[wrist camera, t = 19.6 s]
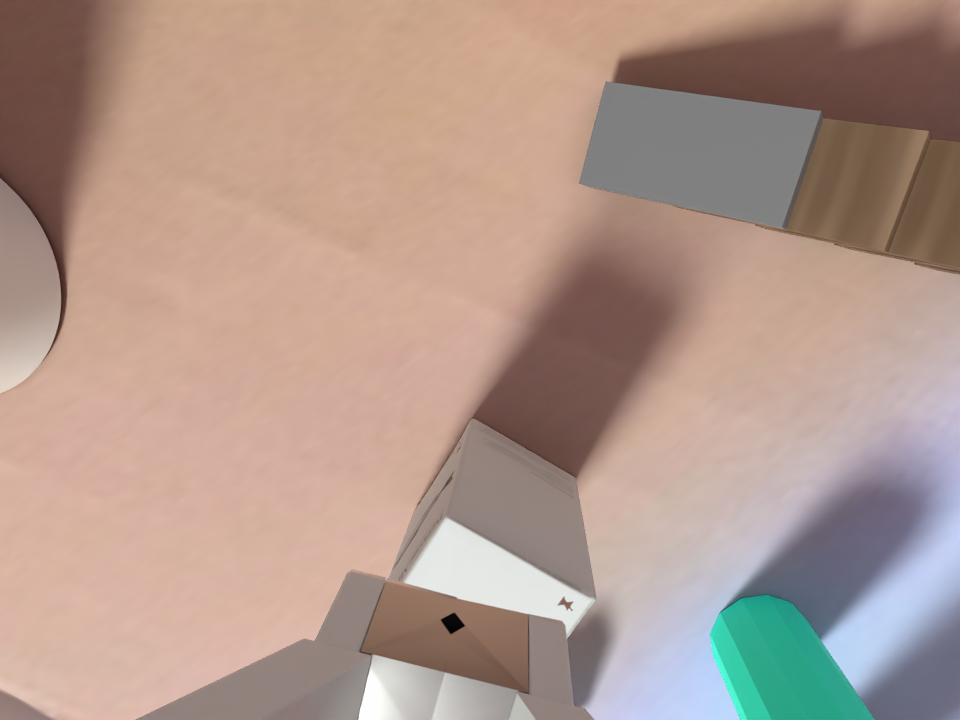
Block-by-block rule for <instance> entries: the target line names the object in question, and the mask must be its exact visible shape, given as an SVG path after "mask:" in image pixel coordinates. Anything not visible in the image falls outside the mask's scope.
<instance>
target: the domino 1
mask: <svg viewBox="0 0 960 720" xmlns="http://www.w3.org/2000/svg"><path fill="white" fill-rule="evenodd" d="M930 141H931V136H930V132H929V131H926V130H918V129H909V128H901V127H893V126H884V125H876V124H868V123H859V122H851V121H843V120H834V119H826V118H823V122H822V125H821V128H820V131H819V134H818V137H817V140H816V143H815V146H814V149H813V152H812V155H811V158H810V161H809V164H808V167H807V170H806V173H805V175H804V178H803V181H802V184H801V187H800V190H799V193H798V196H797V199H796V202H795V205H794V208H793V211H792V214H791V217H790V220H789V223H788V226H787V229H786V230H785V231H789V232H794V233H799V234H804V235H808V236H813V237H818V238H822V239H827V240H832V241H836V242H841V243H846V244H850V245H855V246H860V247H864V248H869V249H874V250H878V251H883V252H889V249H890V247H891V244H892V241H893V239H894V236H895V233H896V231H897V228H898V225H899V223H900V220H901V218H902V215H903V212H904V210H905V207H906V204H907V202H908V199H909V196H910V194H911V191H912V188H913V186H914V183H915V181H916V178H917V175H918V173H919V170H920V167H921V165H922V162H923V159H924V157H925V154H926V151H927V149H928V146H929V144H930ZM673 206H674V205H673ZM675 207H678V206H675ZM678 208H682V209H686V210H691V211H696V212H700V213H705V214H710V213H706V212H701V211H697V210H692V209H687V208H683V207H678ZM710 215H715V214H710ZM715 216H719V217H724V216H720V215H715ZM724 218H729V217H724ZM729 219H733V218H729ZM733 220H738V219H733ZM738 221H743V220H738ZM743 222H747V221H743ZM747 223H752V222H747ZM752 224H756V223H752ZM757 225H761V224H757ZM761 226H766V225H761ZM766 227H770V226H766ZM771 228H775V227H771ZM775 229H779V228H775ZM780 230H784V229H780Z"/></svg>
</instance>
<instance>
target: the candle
mask: <svg viewBox="0 0 960 720" xmlns="http://www.w3.org/2000/svg"><path fill="white" fill-rule="evenodd" d="M710 637H711V643H712V650H713V656H714V658H715V661H716V663H717V665H718V668H719V670H720V673H721V675H722V677H723V680H724V682H725V684H726V687H727V689H728V692H729V694H730V696H731V699H732V701H733V703H734V706H735V708H736V711H737V713H738V715H739V718H740V720H875V719H874V718H873V716H872V715H871V713H870V712H869V710H868V709H867V707H866V706H865V704H864V703H863V702H862V700H861V699H860V697H859V696H858V694H857V693H856V691H855V690H854V688H853V687H852V685H851V684H850V682H849V681H848V680H847V678H846V677H845V675H844V674H843V672H842V671H841V669H840V668H839V666H838V665H837V663H836V662H835V660H834V659H833V658H832V656H831V655H830V653H829V652H828V650H827V649H826V647H825V646H824V644H823V643H822V641H821V640H820V638H819V637H818V636H817V634H816V633H815V631H814V630H813V628H812V627H811V625H810V624H809V622H808V621H807V620H806V618H805V617H804V616H803V615H802V614H801V613H800V612H799V610H798V609H797V608H796V607H795V606H794V605H793V604H792V603H791V602H788V601H785V600H782V599H779V598H776V597H773V596H770V595H761V596H754V597H747V598H741V599H739V600H738V601H736V602H735V603H734V604H732V605H731V606H729V607H728V608H726V609H725V610H723V611H722V612H721V613H720V614H719V616H718V618H717V620H716V622H715V625H714V627H713V629H712V631H711V633H710Z"/></svg>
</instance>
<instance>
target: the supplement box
mask: <svg viewBox="0 0 960 720" xmlns="http://www.w3.org/2000/svg"><path fill="white" fill-rule="evenodd" d="M389 579H392V580H395V581H399V582H403V583H406V584H410V585H414V586H418V587H421V588H425V589H429V590H432V591H436V592H440V593H443V594H447V595H451V596H455V597H457V599H462V600H466V601H471V602H475V603H480V604H484V605H489V606H494V607H498V608H503V609H507V610H512V611H516V612H521V613H525V614H531V615H536V616H541V617H546V618H551V619H555V620H560V621H563V623H564V624H565V625H566V634H567V638H568V637H569V635H570V634H571V633H572V631H573V630H574V629H575V627H576V626H577V624H578V623H579V622H580V620H581V619H582V618H583V616H584V615H585V613H586V612H587V611H588V609H589V608H590V607H591V606H592V605H593V603H594V602H595V600H596V593H595V587H594V581H593V575H592V569H591V564H590V558H589V552H588V546H587V540H586V534H585V529H584V523H583V517H582V512H581V506H580V500H579V494H578V488H577V483H576V478H575V477H573V476H572V475H570V474H568V473H567V472H565V471H563V470H562V469H560V468H558V467H557V466H555V465H553V464H552V463H550V462H548V461H546V460H544V459H543V458H541V457H540V456H538V455H536V454H535V453H533V452H531V451H529V450H527V449H526V448H524V447H523V446H521V445H519V444H517V443H516V442H514V441H512V440H510V439H509V438H507V437H505V436H504V435H502V434H500V433H498V432H497V431H495V430H493V429H491V428H490V427H488V426H487V425H485V424H483V423H481V422H479V421H478V420H476V419H471V420H470V422H469V424H468V426H467V427H466V429H465V431H464V433H463V435H462V437H461V438H460V440H459V442H458V443H457V445H456V447H455V449H454V450H453V452H452V454H451V455H450V457H449V458H448V460H447V461H446V463H445V465H444V466H443V468H442V469H441V471H440V473H439V474H438V476H437V477H436V479H435V481H434V482H433V484H432V485H431V487H430V488H429V490H428V492H427V493H426V495H425V496H424V498H423V499H422V500H421V502H420V503H419V505H418V506H417V508H416V509H415V511H414V512H413V515H412V518H411V520H410V523H409V526H408V528H407V531H406V534H405V536H404V539H403V541H402V544H401V547H400V550H399V552H398V555H397V558H396V560H395V563H394V566H393V568H392V571H391V574H390V577H389Z"/></svg>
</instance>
